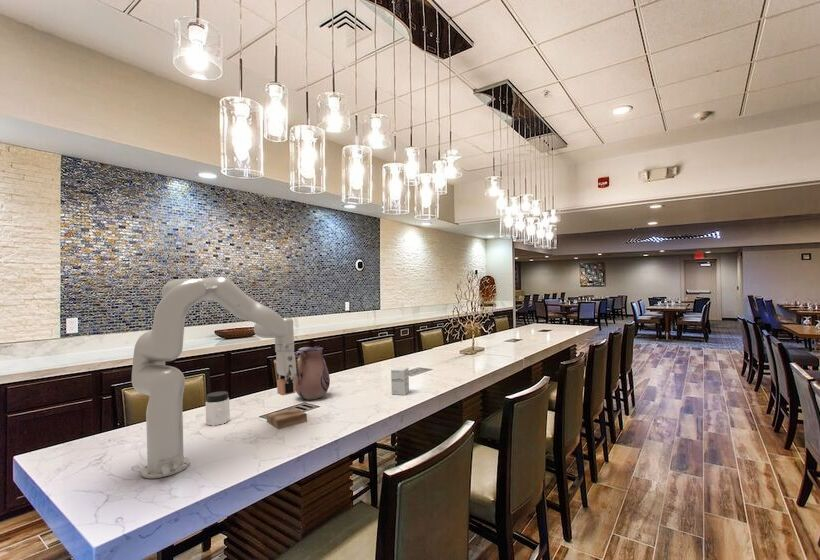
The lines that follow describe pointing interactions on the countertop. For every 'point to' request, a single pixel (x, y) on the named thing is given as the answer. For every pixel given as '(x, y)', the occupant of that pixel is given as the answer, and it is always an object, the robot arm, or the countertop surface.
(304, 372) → the ceramic pitcher
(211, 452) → the countertop surface
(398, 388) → the supplement box
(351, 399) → the countertop surface
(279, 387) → the cube
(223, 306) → the robot arm
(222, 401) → the jar
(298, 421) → the block
